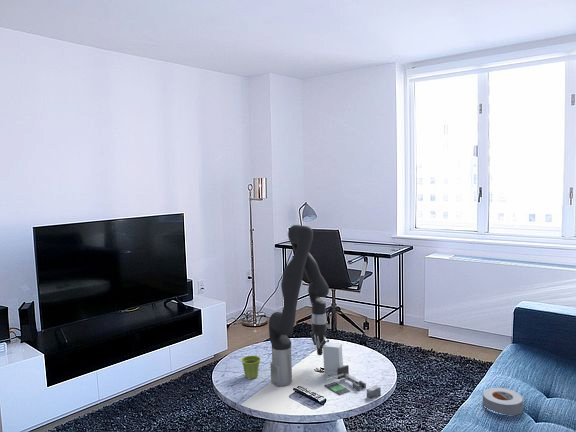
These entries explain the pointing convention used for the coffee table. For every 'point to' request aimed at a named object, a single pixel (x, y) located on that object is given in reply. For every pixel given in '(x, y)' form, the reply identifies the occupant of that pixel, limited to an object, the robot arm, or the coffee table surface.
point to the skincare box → (332, 358)
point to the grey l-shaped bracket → (345, 375)
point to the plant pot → (251, 366)
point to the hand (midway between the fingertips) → (319, 354)
